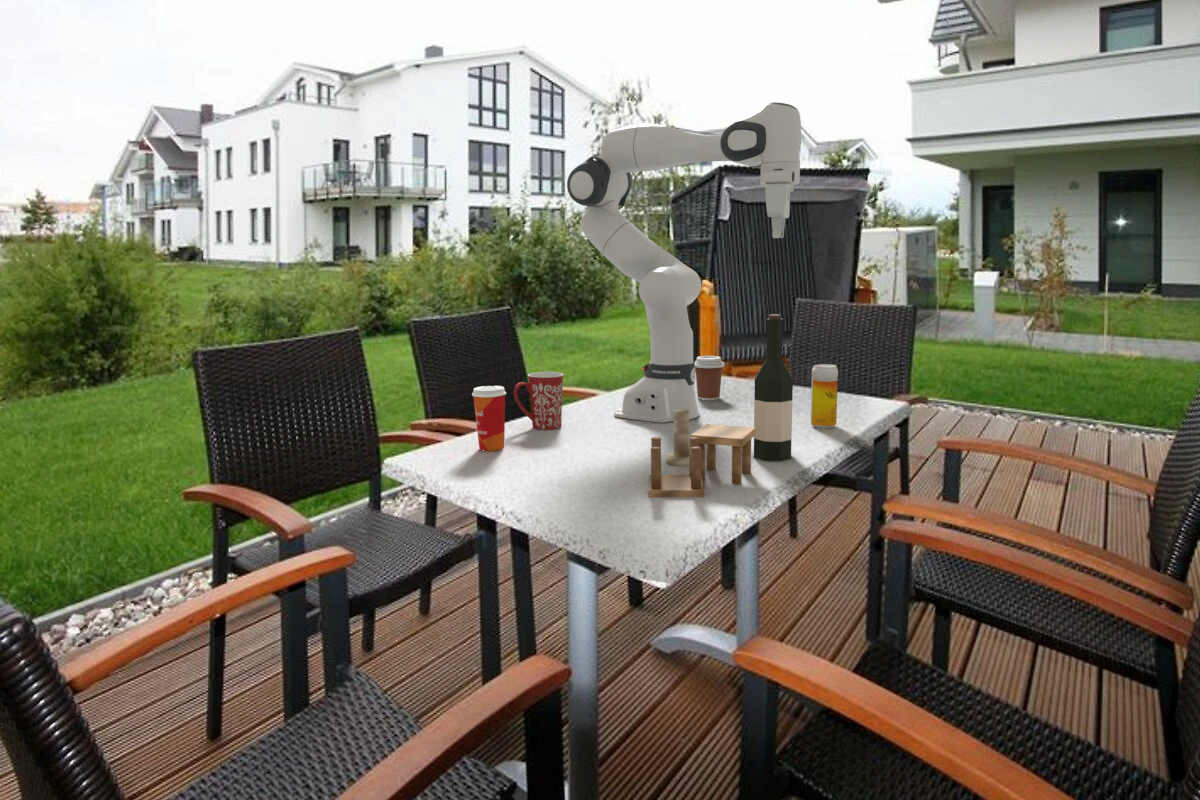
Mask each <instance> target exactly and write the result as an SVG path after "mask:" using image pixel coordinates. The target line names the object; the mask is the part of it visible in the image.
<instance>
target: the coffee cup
mask: <svg viewBox="0 0 1200 800" xmlns="http://www.w3.org/2000/svg"><path fill="white" fill-rule="evenodd" d="M693 362H694V361H693ZM694 363H695V383H696V393H697V399H698V398H699V399H698V400H700V399H705V400H704V401H712V400H711V399H718V398H720V395H721V384H722V372H723V368H724V367H725V362H723V361H722V358H721V356H717V355H716V356H715V355H701V356H697V357H696V360H695V362H694ZM706 399H707V400H706ZM718 400H719V399H718Z"/></svg>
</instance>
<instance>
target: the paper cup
mask: <svg viewBox="0 0 1200 800" xmlns="http://www.w3.org/2000/svg"><path fill="white" fill-rule="evenodd" d="M506 394H507V392H506V391H505V387H504V386H502V385H493V386H492V385H486V386H485V385H482V386H477V387H474V388H473V391H472V393H471V395H472V398H473V406H474V414H475V423H476V424H475V425H476V431H477V432H476V433H477V440H478V441H477V442H478V447H479V450H480V449H481V450H484V451H494V452H498V451H497V450H500V451H502V450H501V449H503V448H504V449H505V435H506V434H505V432H506V431H505V428H506V425H505V423H506V422H505V420H506V419H505V418H506V415H505V413H506V411H505V410H506V407H505V406H506ZM504 449H503V450H504ZM481 450H480V451H481ZM484 451H483V452H484Z"/></svg>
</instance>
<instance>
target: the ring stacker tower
mask: <svg viewBox="0 0 1200 800" xmlns="http://www.w3.org/2000/svg"><path fill="white" fill-rule="evenodd" d="M665 464H667V465H669V466H674V467H690V419H689V410H687V409H676V410H674V421H673V452H668V453H667V454H665Z"/></svg>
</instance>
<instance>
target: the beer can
mask: <svg viewBox="0 0 1200 800" xmlns="http://www.w3.org/2000/svg"><path fill="white" fill-rule="evenodd" d="M838 383H839V369H838V367H837V365H836V364H831V363H830V364H827V363H820V364H814V365H813V367H812V369H811V389H810V391H811V393H810V395H811V396H810V424H811V425H812V427H813V426H814V427H813V428H815V427H817V428H816V429H820V428H830V429H833V428H834V427H835V426H836V425H837V417H838V414H837V412H838V388H839V387H838ZM832 427H833V428H832Z"/></svg>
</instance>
